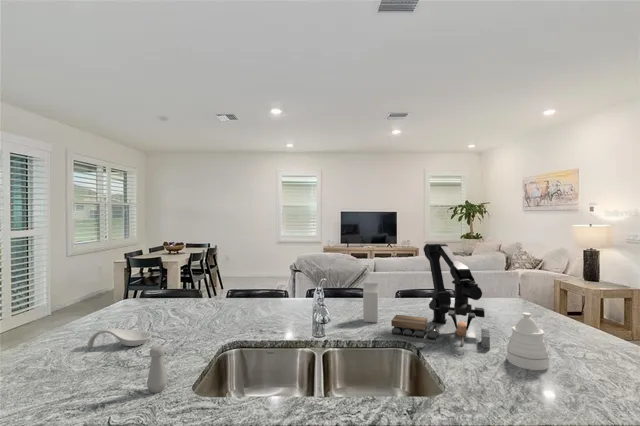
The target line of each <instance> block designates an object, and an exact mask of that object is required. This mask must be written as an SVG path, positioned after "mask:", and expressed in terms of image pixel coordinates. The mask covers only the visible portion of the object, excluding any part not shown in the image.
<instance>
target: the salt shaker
mask: <svg viewBox="0 0 640 426" xmlns="http://www.w3.org/2000/svg"><path fill="white" fill-rule="evenodd" d="M165 353H166V350H165V347H164V346H162V345H157V346H154V347H152V348H151V349H149V357H151V360H150V366H149V372H148V374H147V375H148V376H147V380H146V386H147V389H148V391H149V392H150V393H151V392H152V394H158V393H162V392H163V391H164V390H165V389H166V387H167V384H168V376H167V375H168V374H167V369H166V364H165V360H164V355H165Z"/></svg>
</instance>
